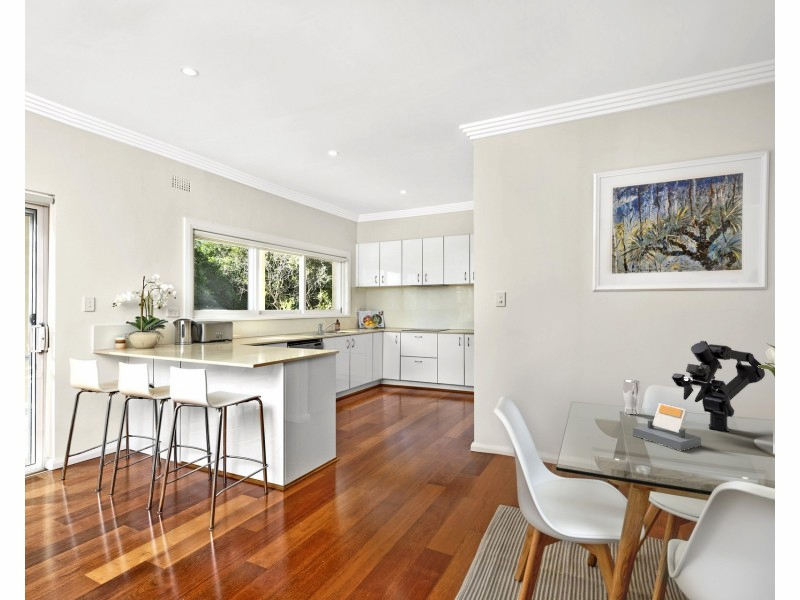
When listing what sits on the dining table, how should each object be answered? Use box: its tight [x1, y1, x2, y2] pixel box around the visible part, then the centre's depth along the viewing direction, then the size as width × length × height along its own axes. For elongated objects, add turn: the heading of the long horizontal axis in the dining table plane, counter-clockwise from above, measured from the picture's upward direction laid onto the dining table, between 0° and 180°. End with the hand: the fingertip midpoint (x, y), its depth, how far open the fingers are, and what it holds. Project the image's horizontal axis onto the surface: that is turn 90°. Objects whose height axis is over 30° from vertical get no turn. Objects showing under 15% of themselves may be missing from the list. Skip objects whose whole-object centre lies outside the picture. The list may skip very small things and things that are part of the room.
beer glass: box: [622, 379, 641, 414], centre depth 197 cm, size 7×7×15 cm
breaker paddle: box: [652, 402, 689, 433], centre depth 162 cm, size 2×10×9 cm, turn 26°
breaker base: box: [632, 419, 702, 451], centre depth 161 cm, size 12×18×6 cm, turn 26°
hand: (689, 400), depth 167 cm, fingers open, 4 cm apart
